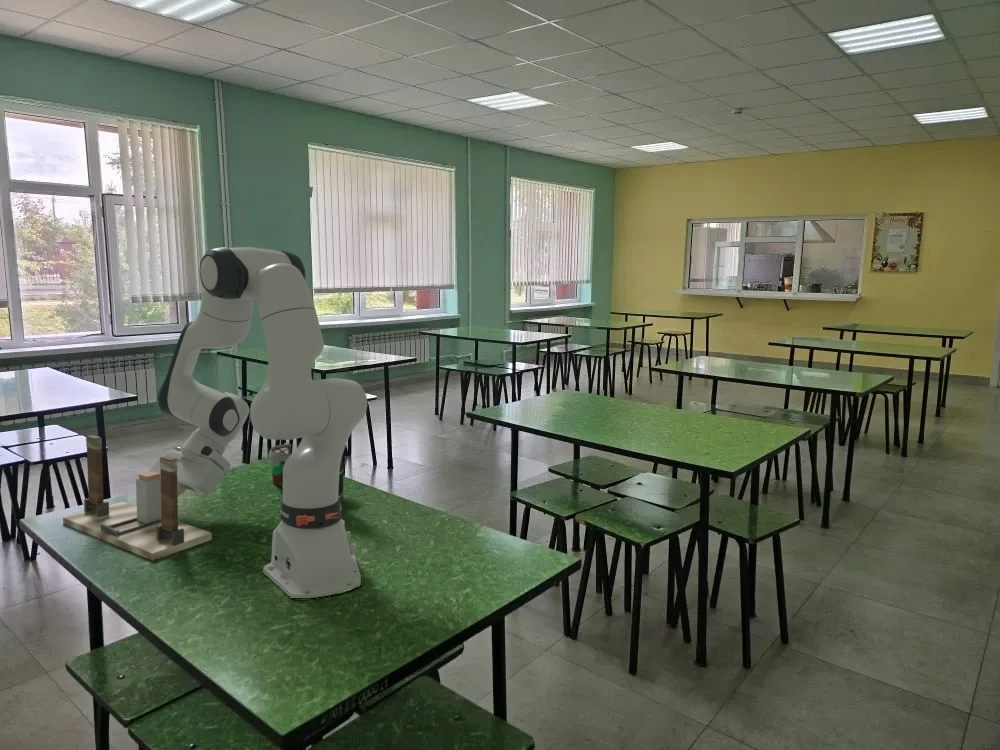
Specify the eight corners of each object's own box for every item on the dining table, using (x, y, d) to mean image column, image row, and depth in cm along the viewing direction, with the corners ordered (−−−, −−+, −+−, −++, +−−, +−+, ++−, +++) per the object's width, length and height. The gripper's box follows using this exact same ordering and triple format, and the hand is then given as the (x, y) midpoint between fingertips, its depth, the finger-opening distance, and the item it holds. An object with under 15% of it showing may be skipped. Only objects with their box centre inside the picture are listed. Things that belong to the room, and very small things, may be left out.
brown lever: (168, 534, 146) (166, 455, 143) (179, 538, 144) (177, 458, 142) (160, 537, 144) (159, 457, 142) (171, 541, 143) (169, 460, 140)
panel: (211, 539, 150) (211, 520, 149) (152, 560, 138) (152, 539, 137) (122, 507, 167) (122, 489, 166) (63, 523, 154) (62, 504, 154)
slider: (153, 515, 158) (152, 470, 156) (163, 519, 156) (162, 473, 154) (137, 520, 154) (135, 474, 153) (147, 524, 152) (146, 477, 151)
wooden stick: (95, 507, 160) (93, 434, 157) (104, 511, 158) (102, 437, 155) (88, 509, 158) (85, 436, 155) (97, 513, 156) (94, 438, 154)
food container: (268, 476, 197) (269, 443, 196) (290, 476, 199) (290, 443, 197) (267, 490, 185) (267, 455, 184) (290, 489, 187) (291, 454, 186)
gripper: (166, 438, 167) (129, 485, 160) (219, 452, 157) (182, 503, 150) (182, 452, 172) (147, 498, 165) (235, 466, 162) (200, 516, 155)
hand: (164, 501), depth 157 cm, fingers closed
